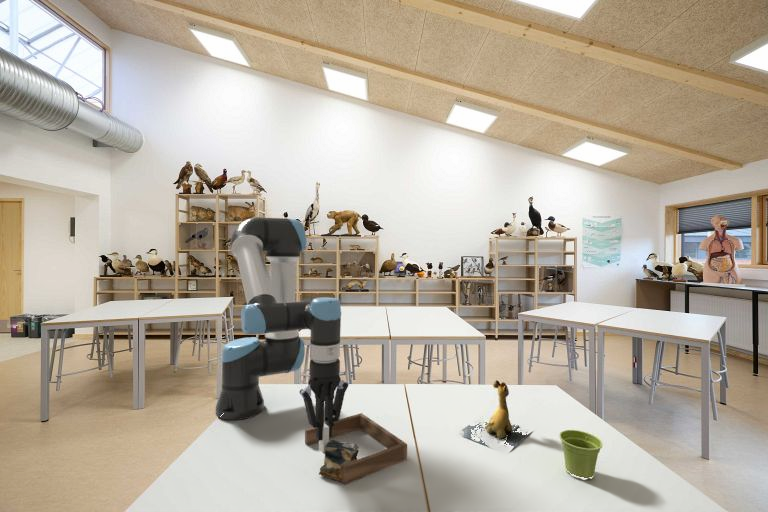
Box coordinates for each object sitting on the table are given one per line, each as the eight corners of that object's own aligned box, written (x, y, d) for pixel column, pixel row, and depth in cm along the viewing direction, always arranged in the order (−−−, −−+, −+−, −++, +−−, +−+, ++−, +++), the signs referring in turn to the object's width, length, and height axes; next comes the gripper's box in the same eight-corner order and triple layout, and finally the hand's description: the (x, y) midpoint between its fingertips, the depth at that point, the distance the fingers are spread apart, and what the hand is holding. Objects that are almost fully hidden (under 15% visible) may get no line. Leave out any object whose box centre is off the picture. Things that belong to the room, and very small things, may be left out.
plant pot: (600, 490, 86) (601, 453, 86) (556, 476, 91) (556, 441, 91) (602, 470, 94) (603, 436, 94) (561, 458, 99) (561, 426, 99)
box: (305, 443, 105) (305, 429, 105) (361, 425, 116) (361, 413, 116) (344, 484, 87) (345, 467, 87) (407, 459, 98) (407, 444, 98)
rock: (317, 478, 89) (317, 454, 89) (332, 457, 98) (332, 435, 98) (351, 485, 87) (352, 460, 87) (364, 462, 96) (364, 440, 96)
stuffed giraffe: (533, 431, 114) (532, 379, 114) (507, 457, 101) (506, 398, 100) (484, 417, 125) (483, 369, 125) (455, 438, 112) (454, 385, 111)
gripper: (307, 367, 89) (305, 466, 89) (354, 358, 96) (353, 449, 97) (295, 359, 95) (293, 451, 95) (340, 351, 102) (339, 437, 103)
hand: (323, 450), depth 96 cm, fingers closed
